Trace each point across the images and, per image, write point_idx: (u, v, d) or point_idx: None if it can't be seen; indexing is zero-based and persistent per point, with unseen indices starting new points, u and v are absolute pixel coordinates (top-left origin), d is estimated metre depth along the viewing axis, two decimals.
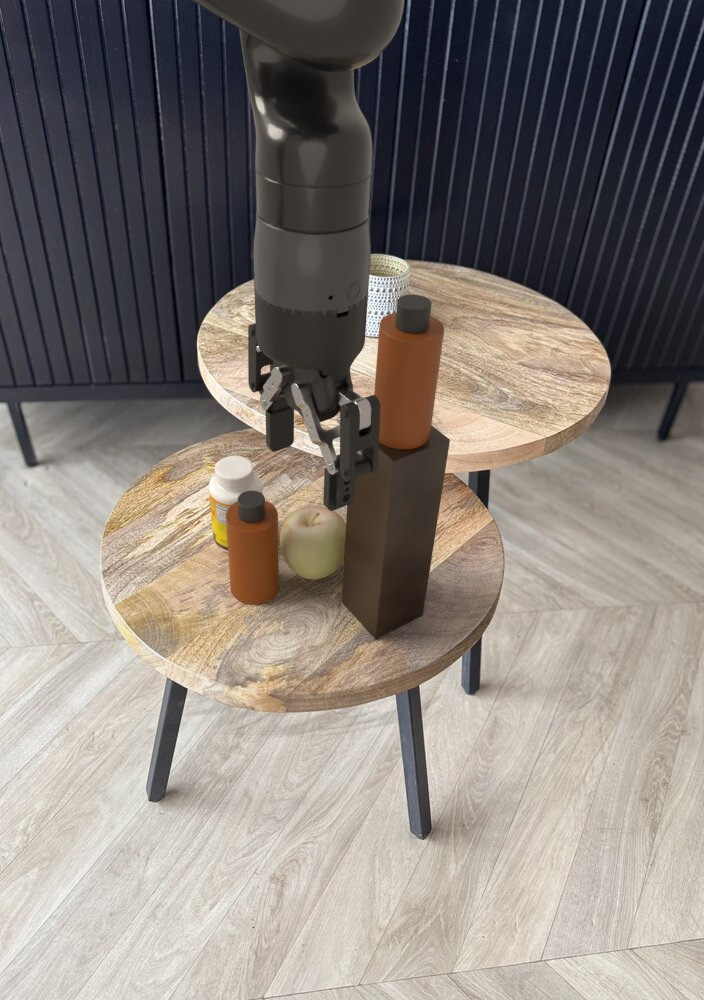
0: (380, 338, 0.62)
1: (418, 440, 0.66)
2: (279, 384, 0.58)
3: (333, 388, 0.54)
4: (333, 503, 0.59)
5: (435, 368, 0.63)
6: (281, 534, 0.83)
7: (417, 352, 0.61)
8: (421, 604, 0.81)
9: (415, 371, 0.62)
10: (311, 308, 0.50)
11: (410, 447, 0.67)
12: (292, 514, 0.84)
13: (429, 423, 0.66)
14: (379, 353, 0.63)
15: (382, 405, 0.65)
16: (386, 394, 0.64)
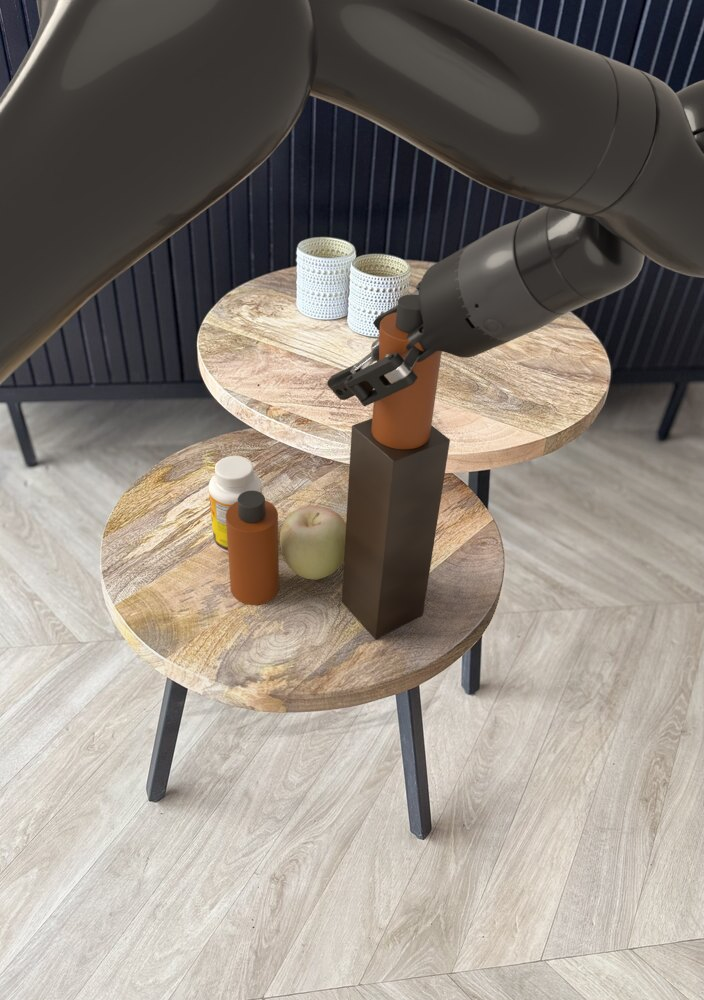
0: (380, 338, 0.62)
1: (418, 440, 0.66)
2: None
3: (413, 342, 0.60)
4: (333, 383, 0.67)
5: (435, 368, 0.63)
6: (281, 534, 0.83)
7: None
8: (421, 604, 0.81)
9: (415, 371, 0.62)
10: (463, 293, 0.56)
11: (410, 447, 0.67)
12: (292, 514, 0.84)
13: (429, 423, 0.66)
14: (379, 353, 0.63)
15: (382, 405, 0.65)
16: None
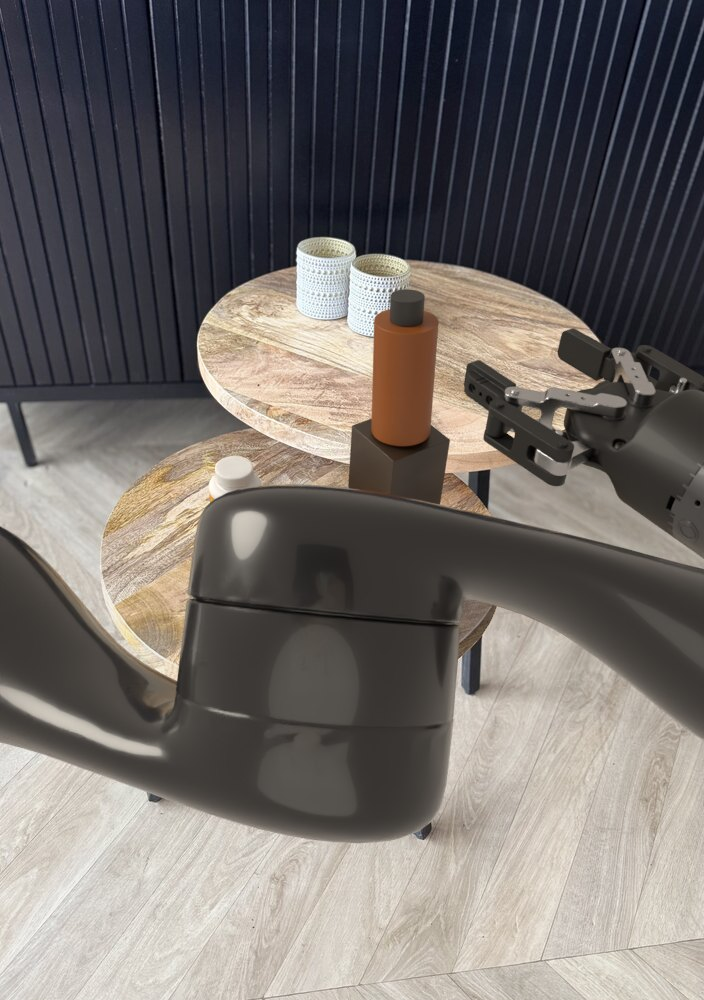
0: (375, 333, 0.62)
1: (418, 436, 0.66)
2: (633, 385, 0.48)
3: (596, 445, 0.45)
4: (474, 371, 0.50)
5: (431, 362, 0.63)
6: None
7: (412, 344, 0.61)
8: None
9: (411, 364, 0.62)
10: (699, 476, 0.41)
11: (410, 444, 0.66)
12: None
13: (428, 419, 0.66)
14: (375, 348, 0.63)
15: (379, 401, 0.65)
16: (383, 390, 0.64)
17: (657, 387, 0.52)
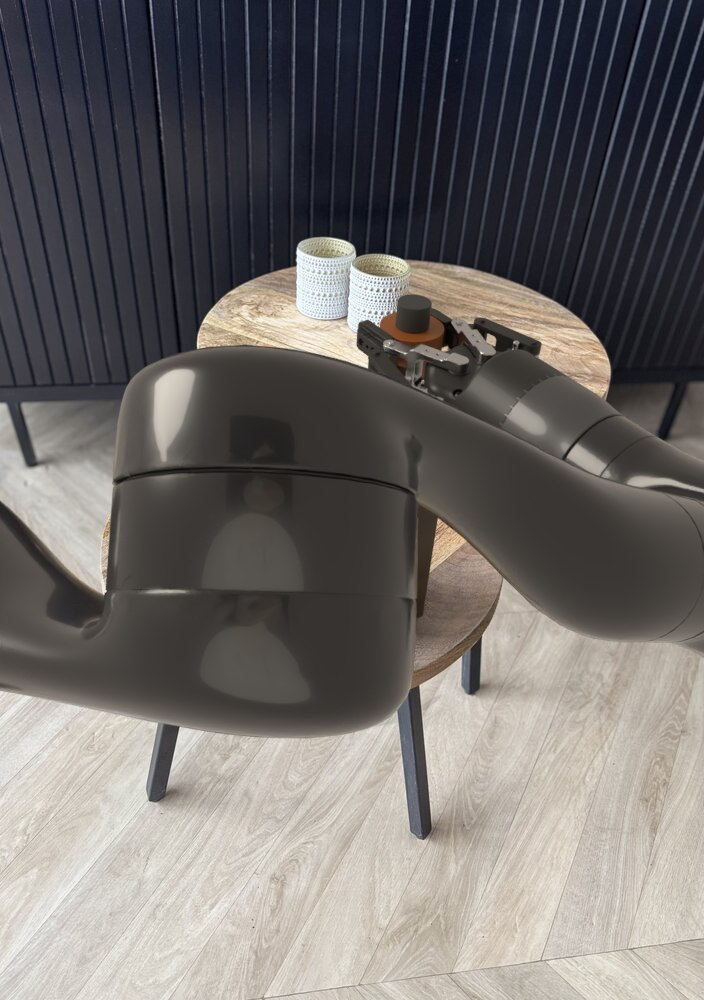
0: None
1: None
2: (477, 349, 0.58)
3: (436, 393, 0.55)
4: (363, 328, 0.62)
5: None
6: None
7: None
8: (421, 604, 0.81)
9: None
10: (511, 415, 0.51)
11: None
12: None
13: None
14: None
15: None
16: None
17: (495, 351, 0.62)
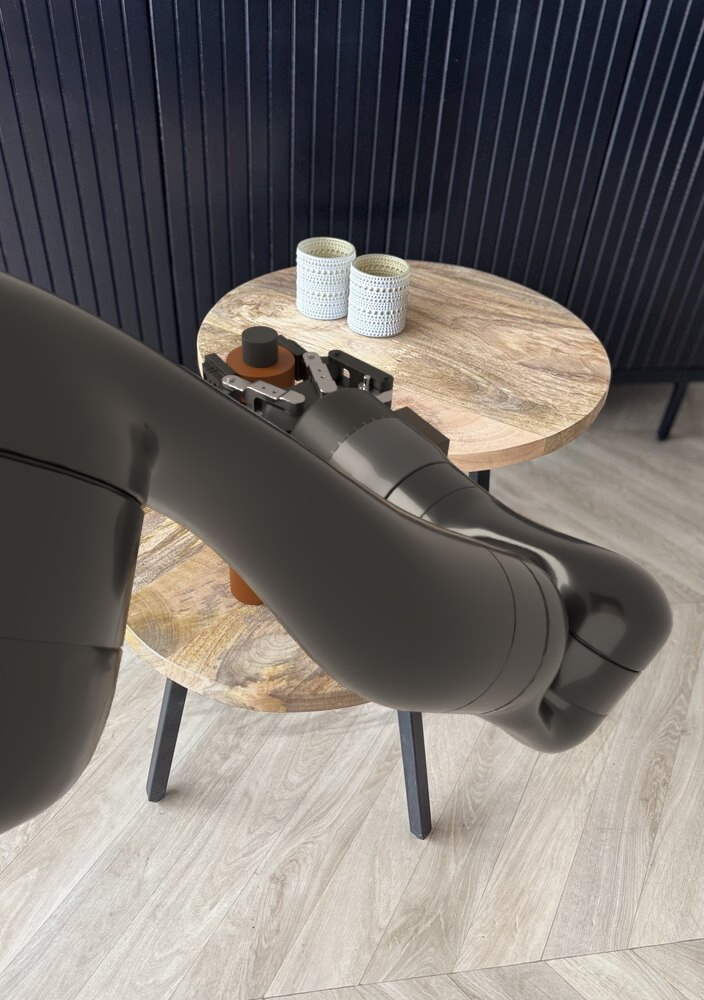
0: None
1: None
2: (318, 386, 0.54)
3: None
4: (208, 362, 0.58)
5: None
6: None
7: None
8: None
9: None
10: (331, 461, 0.48)
11: None
12: None
13: None
14: None
15: None
16: None
17: (350, 385, 0.59)
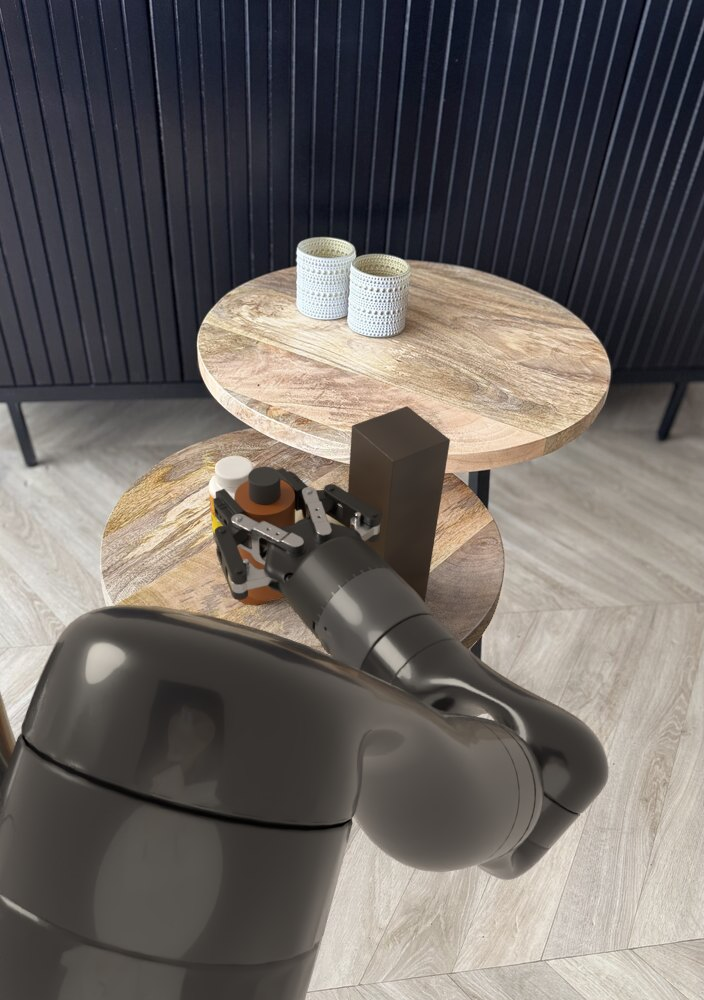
0: None
1: None
2: (315, 527, 0.62)
3: (270, 575, 0.60)
4: (218, 498, 0.67)
5: None
6: None
7: None
8: None
9: None
10: (326, 609, 0.56)
11: (272, 599, 0.71)
12: None
13: None
14: None
15: None
16: (244, 554, 0.68)
17: (343, 517, 0.67)
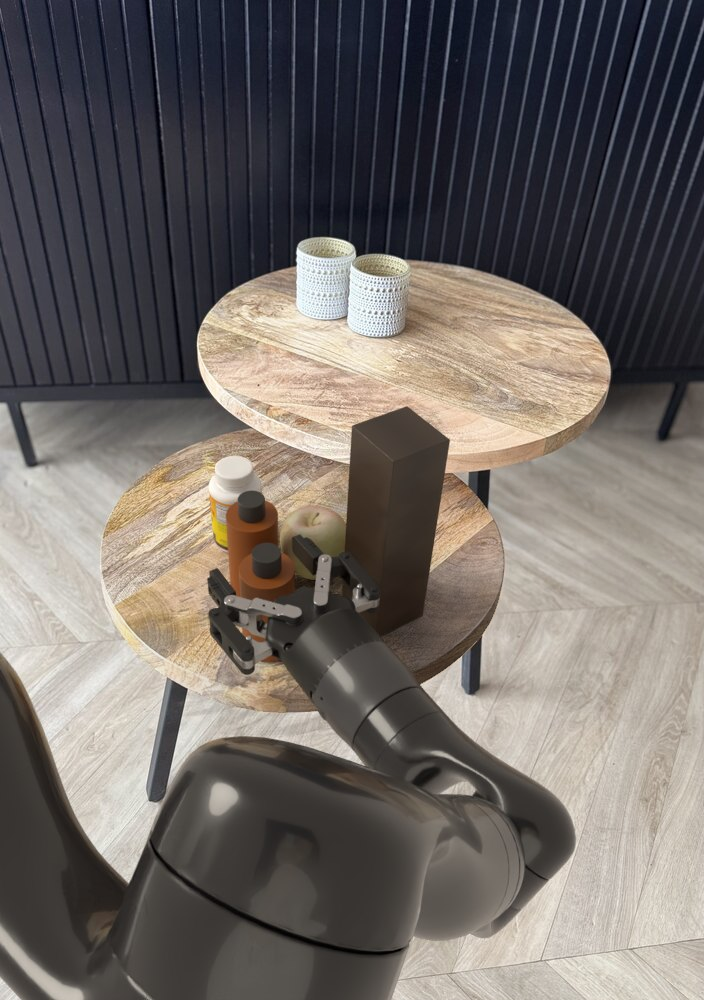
0: (239, 579, 0.72)
1: None
2: (314, 596, 0.68)
3: (274, 646, 0.65)
4: (212, 577, 0.71)
5: None
6: (281, 534, 0.83)
7: (268, 595, 0.71)
8: (421, 604, 0.81)
9: None
10: (322, 681, 0.61)
11: (273, 660, 0.77)
12: (292, 514, 0.84)
13: None
14: (240, 589, 0.73)
15: None
16: None
17: (350, 585, 0.72)
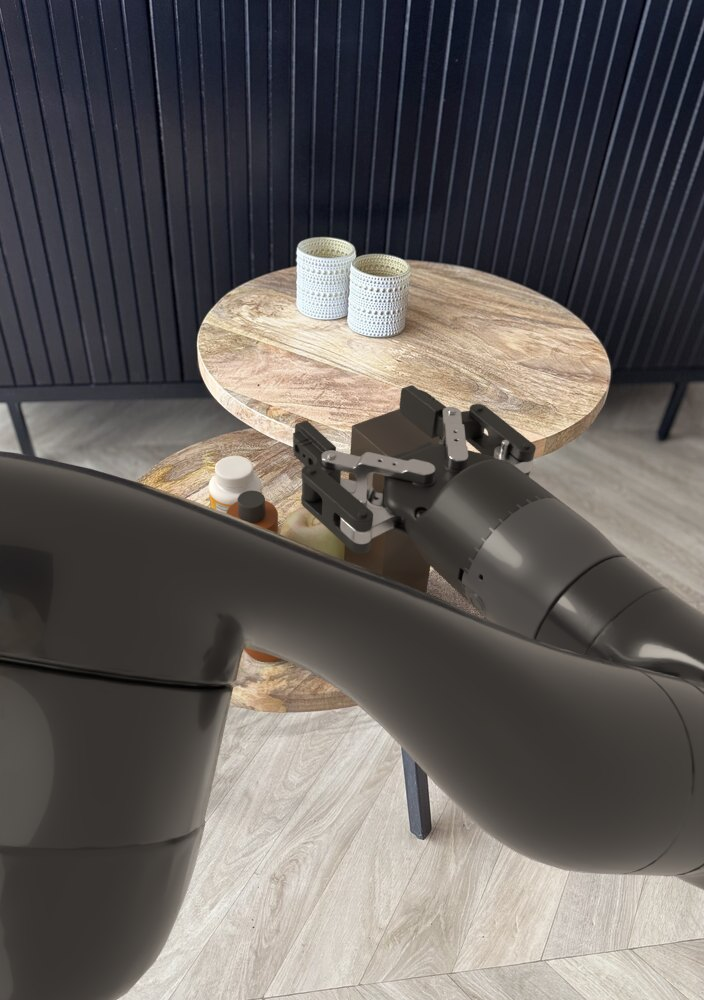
0: None
1: None
2: (448, 450, 0.48)
3: (399, 513, 0.45)
4: (300, 432, 0.51)
5: None
6: (281, 534, 0.83)
7: None
8: None
9: None
10: (482, 551, 0.41)
11: (273, 660, 0.77)
12: (292, 514, 0.84)
13: None
14: None
15: None
16: None
17: (487, 446, 0.53)
